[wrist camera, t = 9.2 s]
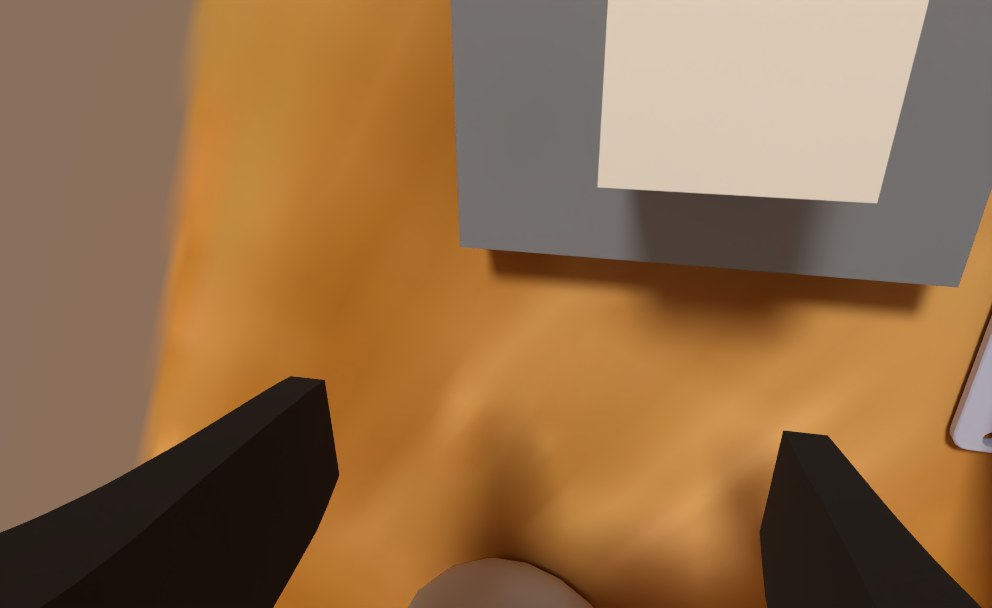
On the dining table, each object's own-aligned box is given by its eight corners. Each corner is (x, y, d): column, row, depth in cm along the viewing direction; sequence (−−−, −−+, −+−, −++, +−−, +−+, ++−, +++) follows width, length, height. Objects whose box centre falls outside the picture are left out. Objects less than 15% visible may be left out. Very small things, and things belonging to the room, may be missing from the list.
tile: (1109, -362, 13) (1197, -421, 11) (924, 245, 18) (958, 287, 16) (471, -310, 15) (437, -348, 13) (482, 213, 21) (460, 247, 19)
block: (849, -103, 13) (960, -123, 8) (808, 110, 15) (876, 203, 10) (636, -98, 14) (614, -113, 9) (622, 104, 16) (597, 187, 11)
